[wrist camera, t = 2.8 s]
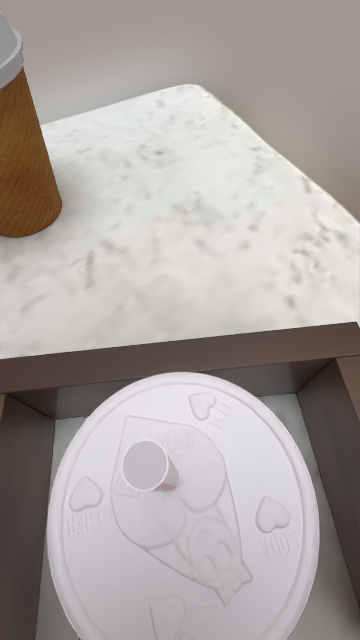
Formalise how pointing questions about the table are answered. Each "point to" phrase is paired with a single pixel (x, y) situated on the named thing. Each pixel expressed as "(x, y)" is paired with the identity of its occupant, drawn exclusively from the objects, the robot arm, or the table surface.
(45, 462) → the frame
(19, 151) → the disposable coffee cup
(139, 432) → the smoothie
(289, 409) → the table surface
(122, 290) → the table surface
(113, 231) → the table surface
